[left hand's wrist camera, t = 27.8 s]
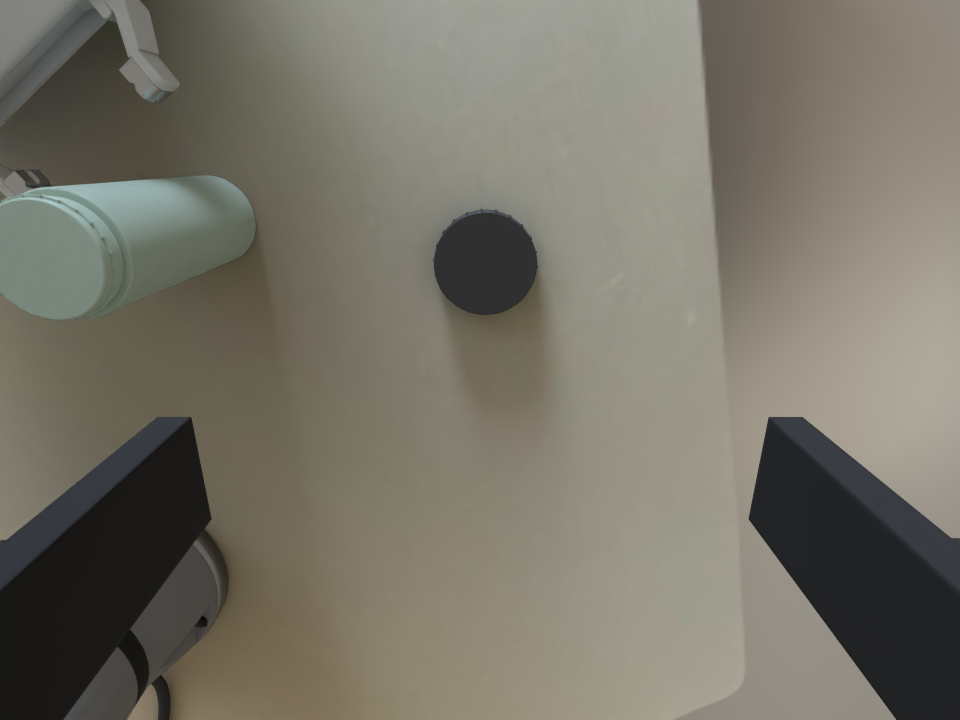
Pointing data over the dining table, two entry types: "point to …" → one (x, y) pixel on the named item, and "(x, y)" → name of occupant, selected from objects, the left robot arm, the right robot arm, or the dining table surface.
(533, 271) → the lid
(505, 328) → the dining table surface
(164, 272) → the jar
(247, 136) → the dining table surface
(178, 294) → the dining table surface
